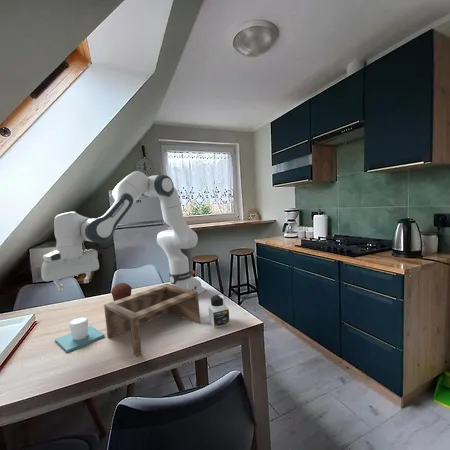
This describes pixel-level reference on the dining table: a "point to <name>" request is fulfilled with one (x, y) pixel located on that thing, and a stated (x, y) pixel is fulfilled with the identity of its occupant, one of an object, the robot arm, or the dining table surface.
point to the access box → (149, 310)
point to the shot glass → (79, 328)
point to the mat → (70, 344)
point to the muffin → (121, 291)
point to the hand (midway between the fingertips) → (74, 286)
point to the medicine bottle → (218, 311)
